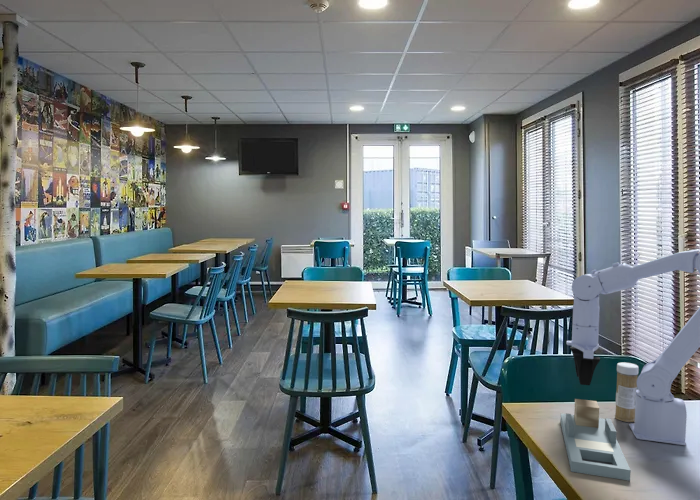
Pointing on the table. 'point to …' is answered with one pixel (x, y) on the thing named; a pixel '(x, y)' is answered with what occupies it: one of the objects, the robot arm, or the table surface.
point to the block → (586, 413)
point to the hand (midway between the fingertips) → (583, 380)
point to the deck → (594, 449)
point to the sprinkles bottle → (626, 391)
